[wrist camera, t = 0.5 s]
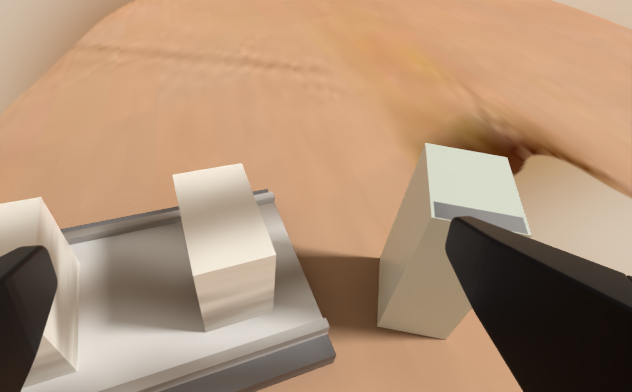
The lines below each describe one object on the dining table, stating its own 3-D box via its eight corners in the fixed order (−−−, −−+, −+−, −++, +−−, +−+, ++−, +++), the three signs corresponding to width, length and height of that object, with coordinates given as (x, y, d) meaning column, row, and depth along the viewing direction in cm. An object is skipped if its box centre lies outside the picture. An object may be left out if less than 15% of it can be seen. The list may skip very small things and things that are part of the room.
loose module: (445, 339, 25) (531, 235, 17) (377, 326, 25) (431, 217, 17) (438, 267, 29) (506, 156, 21) (379, 256, 29) (425, 141, 21)
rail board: (333, 362, 23) (356, 300, 18) (-88, 517, 17) (-256, 494, 11) (266, 199, 32) (268, 123, 26) (-28, 259, 25) (-106, 175, 20)
